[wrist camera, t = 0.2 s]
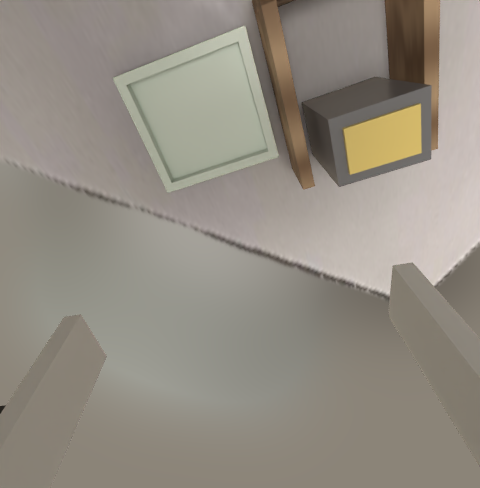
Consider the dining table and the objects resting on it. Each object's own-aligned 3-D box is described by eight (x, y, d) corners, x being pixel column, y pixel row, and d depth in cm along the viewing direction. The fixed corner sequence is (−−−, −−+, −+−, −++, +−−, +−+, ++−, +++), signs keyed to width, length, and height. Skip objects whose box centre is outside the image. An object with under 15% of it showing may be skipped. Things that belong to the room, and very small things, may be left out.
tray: (117, 77, 32) (112, 78, 31) (244, 26, 30) (245, 25, 29) (170, 187, 39) (167, 193, 37) (277, 152, 37) (279, 156, 35)
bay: (251, 1, 29) (256, -14, 23) (395, -58, 27) (441, -90, 21) (292, 168, 38) (303, 189, 32) (403, 133, 36) (437, 148, 30)
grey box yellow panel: (301, 102, 34) (329, 120, 24) (374, 76, 33) (434, 85, 23) (312, 153, 37) (340, 188, 27) (379, 132, 36) (433, 160, 26)
